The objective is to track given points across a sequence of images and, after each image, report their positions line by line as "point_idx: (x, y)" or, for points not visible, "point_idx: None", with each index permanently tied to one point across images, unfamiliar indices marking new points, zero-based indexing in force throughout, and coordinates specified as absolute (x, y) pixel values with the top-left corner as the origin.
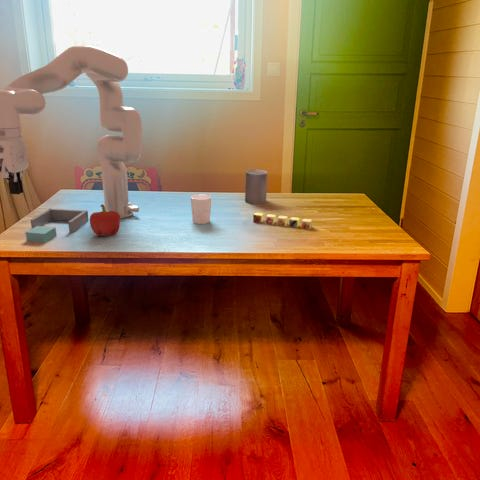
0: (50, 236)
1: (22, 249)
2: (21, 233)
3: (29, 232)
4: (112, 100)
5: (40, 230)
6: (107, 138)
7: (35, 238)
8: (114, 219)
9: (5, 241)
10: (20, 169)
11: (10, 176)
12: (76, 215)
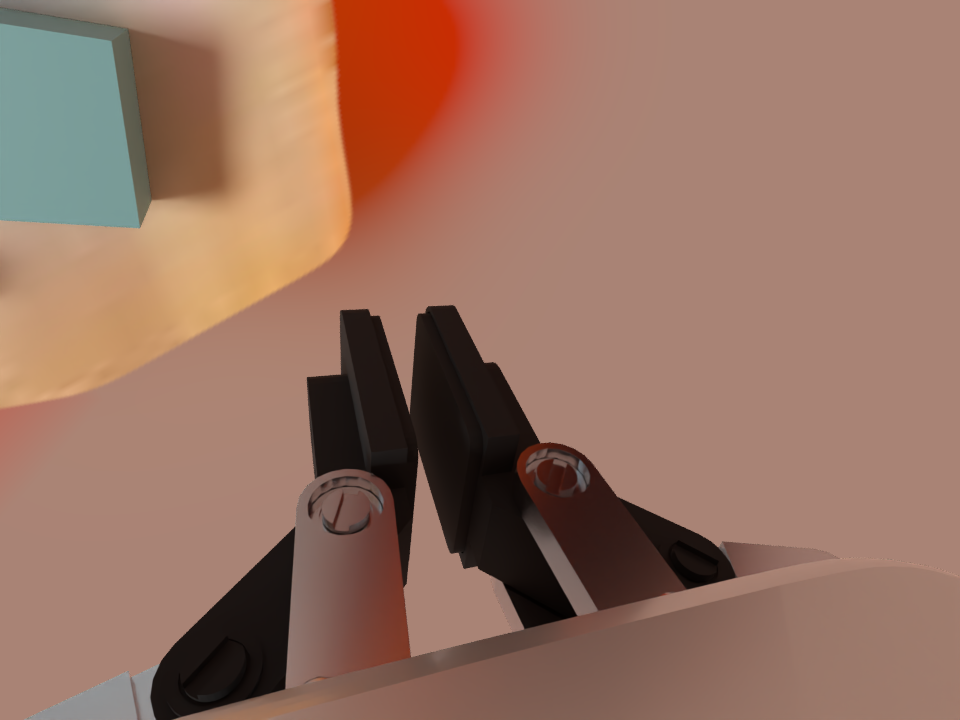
0: (15, 15)
1: (315, 149)
2: (15, 314)
3: (131, 195)
4: None
5: (36, 125)
6: None
7: (136, 131)
8: None
9: (208, 322)
10: (684, 648)
11: (718, 559)
12: None
